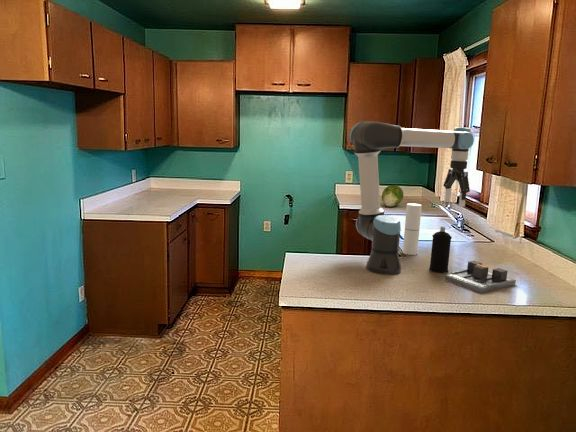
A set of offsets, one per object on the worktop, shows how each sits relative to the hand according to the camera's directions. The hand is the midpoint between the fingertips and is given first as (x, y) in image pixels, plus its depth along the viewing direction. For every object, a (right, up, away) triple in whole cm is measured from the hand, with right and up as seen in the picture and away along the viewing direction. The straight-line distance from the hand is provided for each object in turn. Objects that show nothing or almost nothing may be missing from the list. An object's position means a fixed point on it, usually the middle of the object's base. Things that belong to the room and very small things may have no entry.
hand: (454, 204), depth 228 cm
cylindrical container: (-19, -25, +10) cm, 33 cm away
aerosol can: (-13, -30, -18) cm, 38 cm away
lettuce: (+1, +2, +148) cm, 148 cm away
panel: (-1, -33, -32) cm, 46 cm away
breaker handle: (-1, -31, -33) cm, 45 cm away
